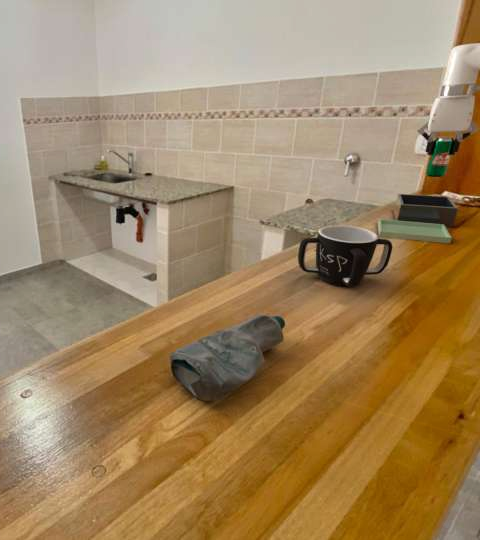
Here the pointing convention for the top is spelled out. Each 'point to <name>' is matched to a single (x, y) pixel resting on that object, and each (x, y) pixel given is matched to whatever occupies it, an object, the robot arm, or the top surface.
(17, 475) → the top surface
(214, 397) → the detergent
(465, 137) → the robot arm
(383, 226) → the tray
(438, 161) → the soda can
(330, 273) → the mug
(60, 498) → the top surface
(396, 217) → the dark grey open box
